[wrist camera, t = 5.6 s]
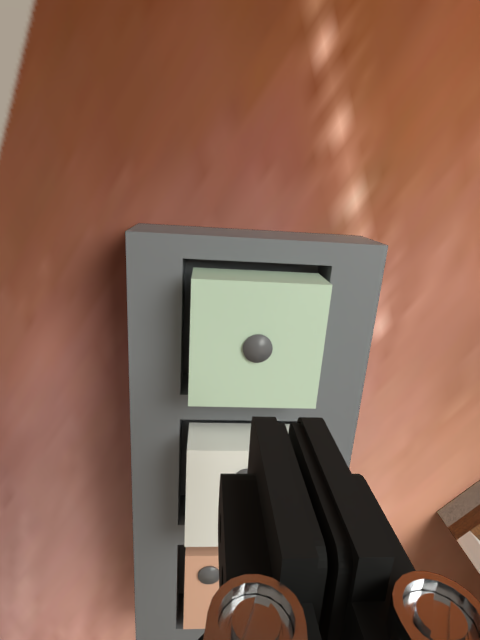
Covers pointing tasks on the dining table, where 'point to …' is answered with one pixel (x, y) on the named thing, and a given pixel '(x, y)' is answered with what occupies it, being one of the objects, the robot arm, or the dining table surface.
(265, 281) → the button one
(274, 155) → the dining table surface
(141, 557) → the button board
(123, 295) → the dining table surface
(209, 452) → the button two
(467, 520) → the brown-banded white pillar
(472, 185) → the dining table surface
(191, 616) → the button three
